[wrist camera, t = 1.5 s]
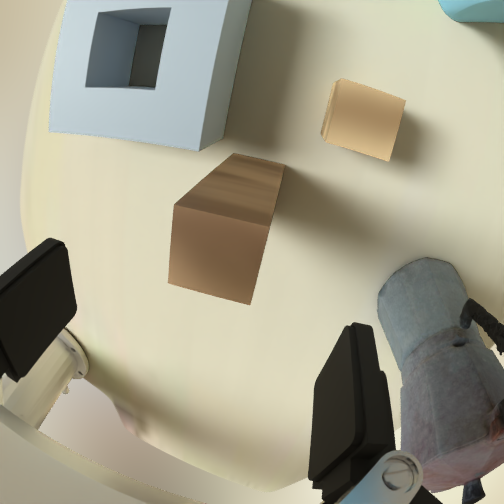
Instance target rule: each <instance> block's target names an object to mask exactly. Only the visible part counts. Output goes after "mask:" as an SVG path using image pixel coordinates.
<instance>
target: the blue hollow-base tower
mask: <svg viewBox="0 0 504 504" xmlns="http://www.w3.org/2000/svg"><path fill="white" fill-rule="evenodd" d="M438 1H439V3H440V5H441V7H442V9H443V11H444V12H445V13H446V14H447V15H448V16H449V17H450V18H451V19H453V20H455V21H458V22H497V23H504V0H438Z"/></svg>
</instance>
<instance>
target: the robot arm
mask: <svg viewBox="0 0 504 504" xmlns="http://www.w3.org/2000/svg"><path fill="white" fill-rule="evenodd" d="M76 311H77V304H76V299H75V294H74V288H73V282H72V276H71V270H70V263H69V256H68V250H67V248H66V247H65V244H64V242H62V241H59V240H56V239H53V238H48V239H46V240H45V241H43V242H42V243H41V244H39V245H38V246H37V247H36V248H34V249H33V250H32V251H30V252H29V253H28V254H26V255H25V256H24V257H23V258H21V259H20V260H19V261H18V262H16V263H15V264H14V265H13V266H11V267H10V268H9V269H8V270H7V271H6V272H4V273H3V274H2V275H1V276H0V504H207V503H203V502H199V501H196V500H192V499H189V498H185V497H182V496H179V495H175V494H173V493H170V492H167V491H164V490H161V489H158V488H155V487H152V486H149V485H147V484H144V483H142V482H139V481H137V480H134V479H132V478H129V477H127V476H124V475H122V474H120V473H117V472H115V471H113V470H111V469H108V468H106V467H104V466H102V465H100V464H98V463H96V462H94V461H92V460H90V459H88V458H86V457H84V456H82V455H80V454H78V453H76V452H74V451H72V450H70V449H69V448H67V447H65V446H63V445H62V444H60V443H58V442H56V441H55V440H53V439H51V438H50V437H48V436H46V435H45V434H43V433H42V432H40V431H38V429H39V427H40V426H41V424H42V422H43V421H44V419H45V418H46V416H47V414H48V412H49V411H50V410H51V408H52V407H53V405H54V403H55V402H56V400H57V399H58V397H59V396H60V394H61V393H63V394H68V392H69V389H68V386H67V385H68V383H69V382H70V380H71V379H72V378H73V379H81V378H83V377H84V376H85V375H86V374H87V372H88V369H89V364H88V360H87V357H86V355H85V353H84V351H83V350H82V348H81V347H80V345H79V344H78V343H77V341H76V340H75V339H74V338H73V337H72V336H71V335H70V334H69V333H68V332H67V331H66V330H65V329H64V327H65V326H66V325H67V324H68V323H69V322H70V320H71V319H72V318H73V317H74V316H75V314H76ZM308 479H309V480H311V481H313V487H312V488H313V489H322V499H323V501H322V502H321V503H320V504H443V503H441V502H440V501H439V500H438V499H437V498H435V496H433V495H432V494H431V493H430V492H429V491H428V490H427V489H426V488H425V487H423V486H422V485H421V484H422V482H423V469H422V466H421V464H420V462H419V461H418V460H417V458H416V457H415V456H414V455H412V454H410V453H409V452H406V451H402V450H396V446H395V437H394V427H393V419H392V411H391V404H390V397H389V390H388V384H387V378H386V375H385V373H384V372H383V371H380V368H379V362H378V355H377V350H376V344H375V338H374V333H373V328H372V326H370V325H365V324H361V323H356V322H353V323H352V324H351V326H345V328H344V329H343V331H342V333H341V335H340V337H339V339H338V341H337V343H336V345H335V347H334V348H333V350H332V352H331V354H330V356H329V358H328V360H327V361H326V363H325V365H324V367H323V369H322V370H321V372H320V374H319V376H318V377H317V379H316V382H315V386H314V401H313V418H312V434H311V447H310V459H309V471H308Z"/></svg>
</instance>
